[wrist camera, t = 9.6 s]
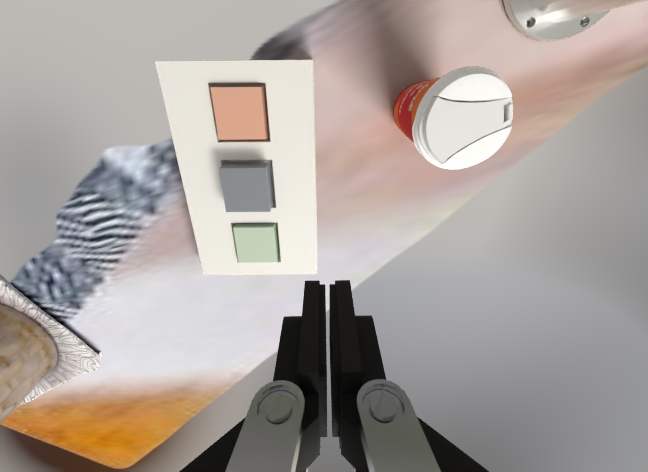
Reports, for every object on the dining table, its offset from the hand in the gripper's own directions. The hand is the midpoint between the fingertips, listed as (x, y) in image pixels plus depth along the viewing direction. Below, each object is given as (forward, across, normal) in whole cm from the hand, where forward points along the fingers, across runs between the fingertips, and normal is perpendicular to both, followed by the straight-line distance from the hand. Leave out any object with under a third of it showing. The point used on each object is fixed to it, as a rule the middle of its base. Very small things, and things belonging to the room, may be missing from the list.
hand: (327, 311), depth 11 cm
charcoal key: (+26, +9, +3) cm, 28 cm away
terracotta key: (+28, +9, -5) cm, 30 cm away
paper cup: (+29, -11, -5) cm, 32 cm away
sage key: (+28, +9, +11) cm, 31 cm away
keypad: (+29, +9, +3) cm, 31 cm away
